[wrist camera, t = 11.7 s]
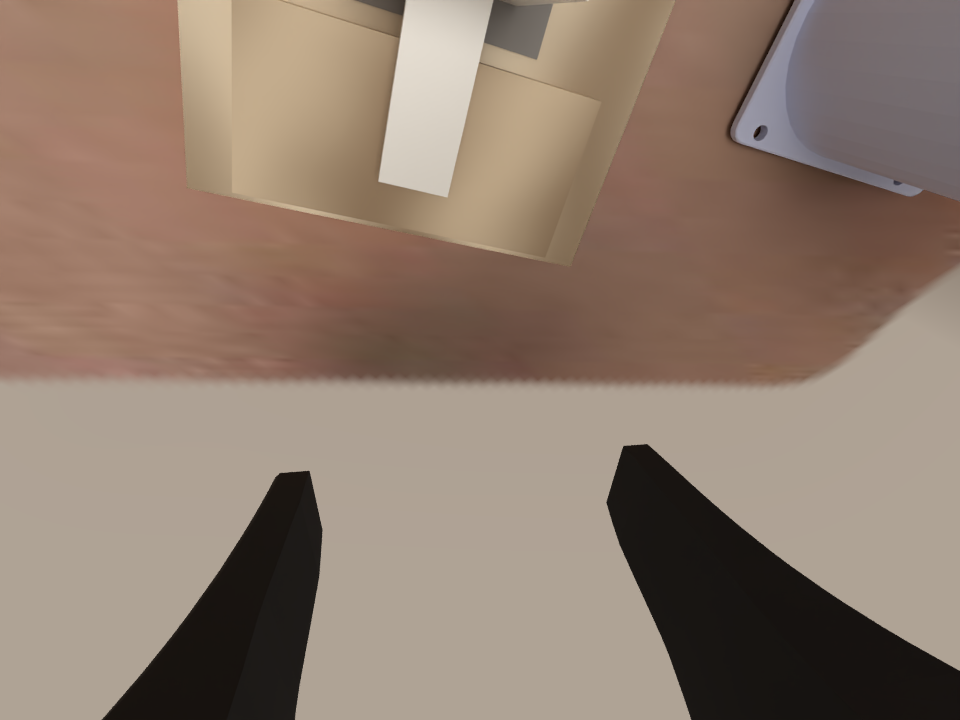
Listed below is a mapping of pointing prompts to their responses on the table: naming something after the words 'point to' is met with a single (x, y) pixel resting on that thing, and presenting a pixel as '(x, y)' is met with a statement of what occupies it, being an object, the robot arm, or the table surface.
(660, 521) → the robot arm
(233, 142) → the display stand
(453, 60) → the cube skewered by beam
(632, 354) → the table surface
